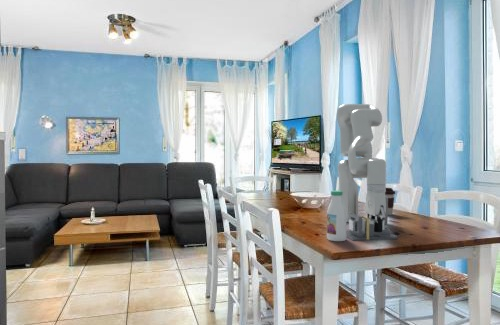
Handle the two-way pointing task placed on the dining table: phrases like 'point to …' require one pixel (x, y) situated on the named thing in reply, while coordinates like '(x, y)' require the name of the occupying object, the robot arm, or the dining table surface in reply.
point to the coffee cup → (390, 199)
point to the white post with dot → (354, 224)
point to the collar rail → (367, 231)
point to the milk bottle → (336, 218)
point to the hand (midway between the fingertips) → (375, 230)
